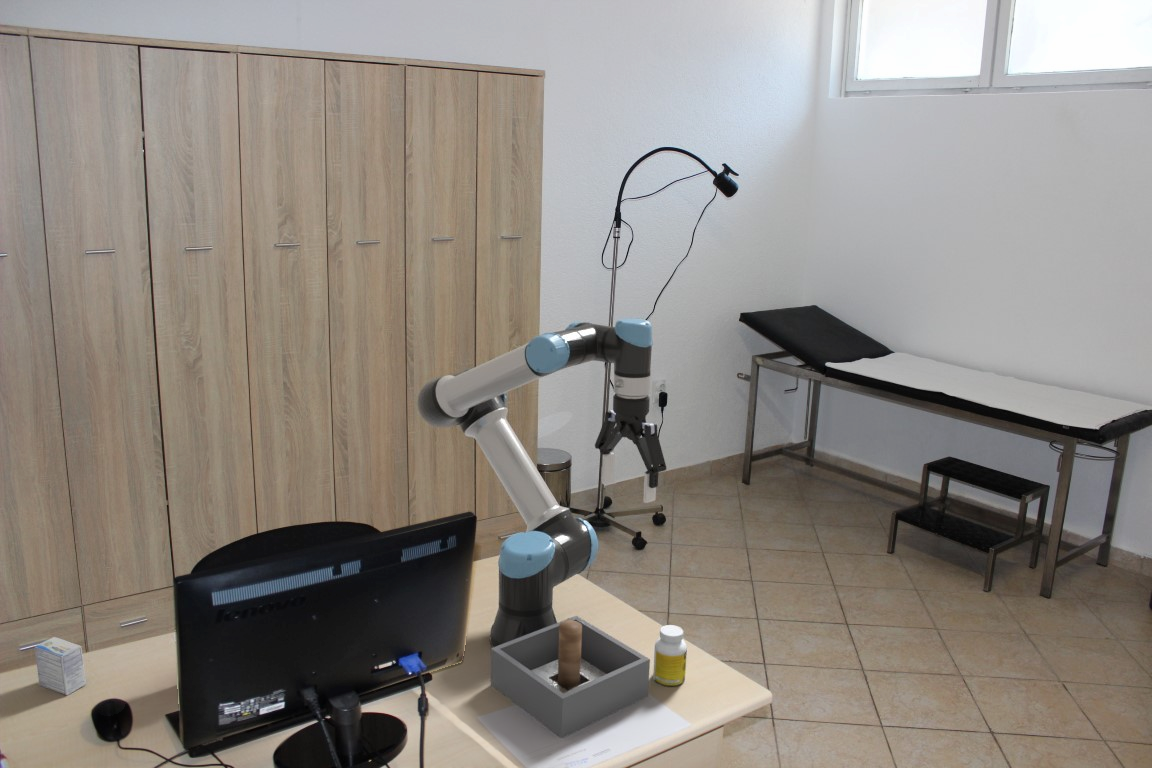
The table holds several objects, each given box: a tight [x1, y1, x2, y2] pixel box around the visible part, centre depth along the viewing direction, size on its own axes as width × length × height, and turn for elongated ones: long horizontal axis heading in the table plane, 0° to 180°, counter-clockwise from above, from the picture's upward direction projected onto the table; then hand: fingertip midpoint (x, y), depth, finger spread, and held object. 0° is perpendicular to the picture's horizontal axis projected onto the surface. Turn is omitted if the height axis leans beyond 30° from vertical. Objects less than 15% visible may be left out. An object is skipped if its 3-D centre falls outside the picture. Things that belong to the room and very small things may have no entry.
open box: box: [490, 615, 651, 739], centre depth 183 cm, size 22×22×9 cm
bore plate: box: [531, 658, 606, 693], centre depth 184 cm, size 14×14×2 cm
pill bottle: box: [652, 624, 688, 688], centre depth 188 cm, size 6×6×12 cm
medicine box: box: [34, 636, 87, 696], centre depth 181 cm, size 8×4×9 cm, turn 65°
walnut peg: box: [558, 620, 582, 691], centre depth 182 cm, size 4×4×14 cm
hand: (628, 492), depth 197 cm, fingers open, 13 cm apart
